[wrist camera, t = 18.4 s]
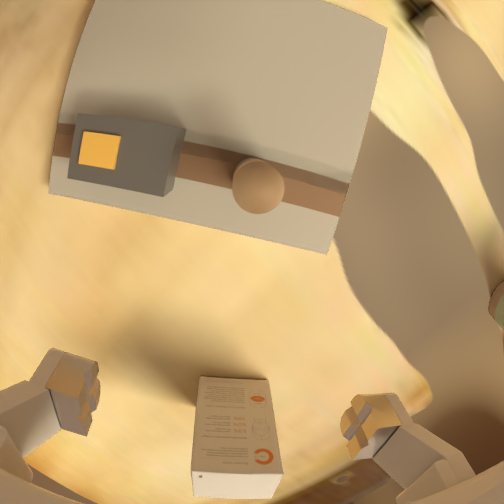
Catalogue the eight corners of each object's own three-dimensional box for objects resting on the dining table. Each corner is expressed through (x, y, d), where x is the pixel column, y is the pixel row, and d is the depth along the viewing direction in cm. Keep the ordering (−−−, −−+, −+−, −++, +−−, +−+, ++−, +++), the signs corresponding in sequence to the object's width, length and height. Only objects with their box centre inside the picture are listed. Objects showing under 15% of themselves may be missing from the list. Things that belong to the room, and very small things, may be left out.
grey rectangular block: (86, 172, 23) (65, 178, 19) (97, 115, 21) (76, 112, 18) (172, 189, 24) (162, 198, 20) (186, 129, 22) (177, 126, 19)
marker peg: (229, 190, 24) (227, 208, 18) (237, 153, 23) (238, 158, 17) (266, 197, 25) (278, 218, 18) (274, 161, 24) (289, 168, 17)
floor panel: (56, 190, 25) (48, 193, 23) (113, -21, 17) (108, -27, 16) (322, 248, 28) (326, 254, 27) (380, 32, 21) (387, 28, 20)
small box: (198, 409, 35) (191, 497, 22) (199, 374, 33) (189, 471, 20) (262, 412, 35) (272, 499, 23) (270, 378, 33) (284, 474, 21)
